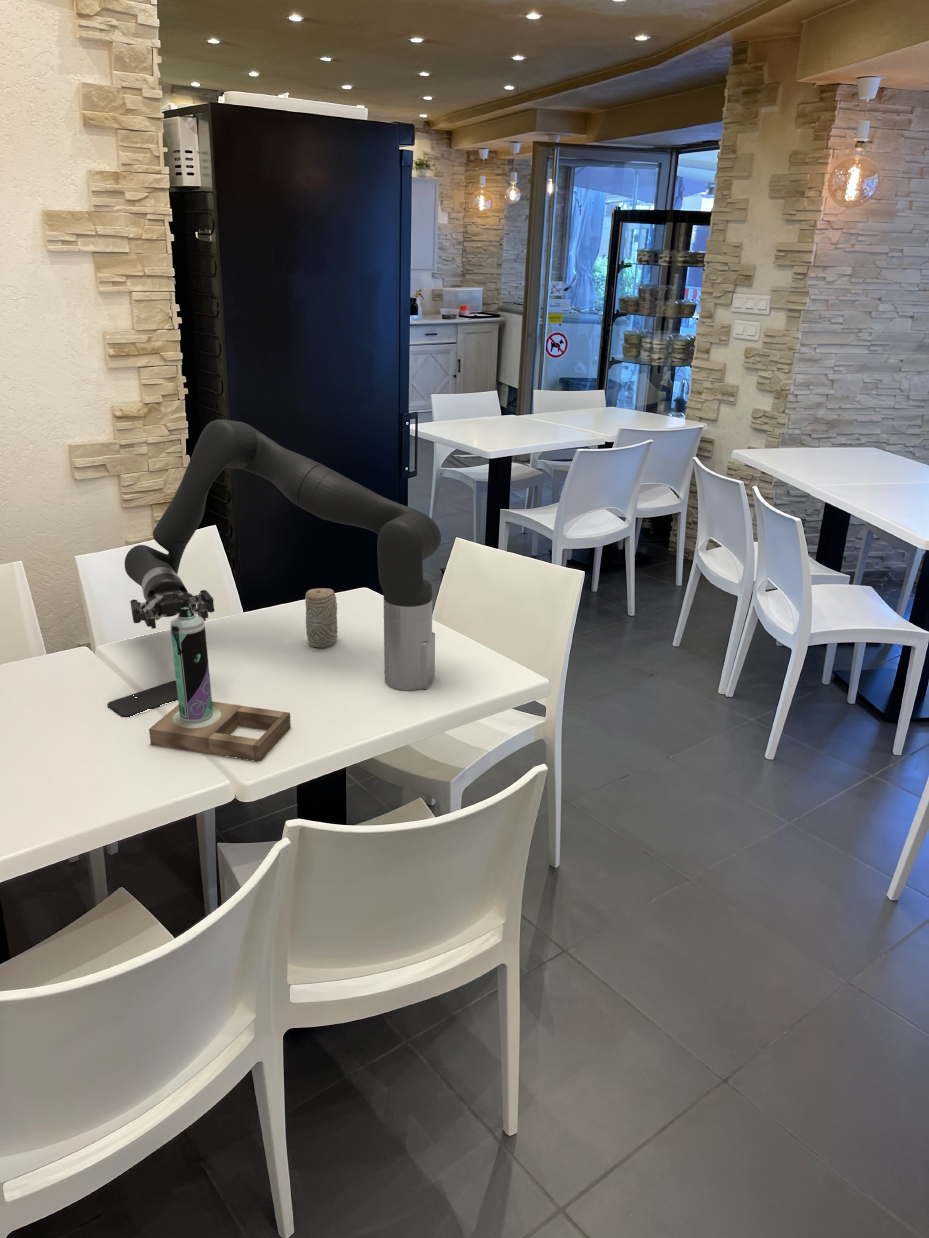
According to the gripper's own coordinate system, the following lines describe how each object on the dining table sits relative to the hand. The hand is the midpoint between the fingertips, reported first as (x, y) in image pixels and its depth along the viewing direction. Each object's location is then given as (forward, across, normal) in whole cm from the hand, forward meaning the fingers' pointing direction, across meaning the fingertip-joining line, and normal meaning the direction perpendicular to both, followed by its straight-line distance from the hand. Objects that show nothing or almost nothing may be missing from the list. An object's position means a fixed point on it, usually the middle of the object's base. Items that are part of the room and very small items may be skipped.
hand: (178, 619), depth 159 cm
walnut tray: (+14, +3, +17) cm, 22 cm away
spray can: (+11, 0, +14) cm, 18 cm away
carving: (-18, +31, +17) cm, 40 cm away
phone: (-5, -6, +17) cm, 19 cm away
